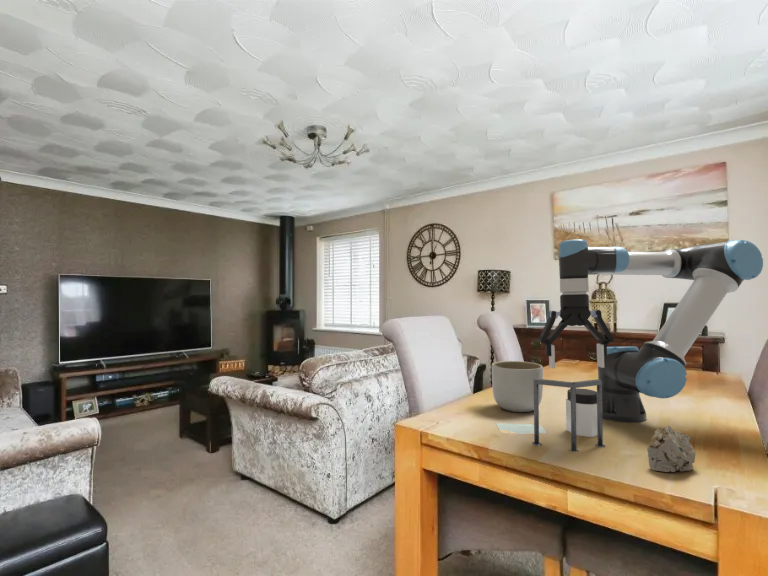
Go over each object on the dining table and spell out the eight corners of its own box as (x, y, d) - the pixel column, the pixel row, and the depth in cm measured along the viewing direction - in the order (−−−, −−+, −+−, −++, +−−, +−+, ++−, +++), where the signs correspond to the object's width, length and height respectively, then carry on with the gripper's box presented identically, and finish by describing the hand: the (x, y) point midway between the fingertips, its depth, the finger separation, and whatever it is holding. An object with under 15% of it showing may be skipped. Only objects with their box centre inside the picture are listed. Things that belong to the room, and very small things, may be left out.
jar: (588, 440, 110) (587, 396, 110) (561, 432, 116) (560, 390, 117) (605, 434, 115) (605, 392, 115) (578, 426, 121) (578, 386, 122)
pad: (539, 425, 123) (539, 424, 123) (553, 441, 110) (553, 439, 110) (495, 424, 124) (495, 423, 124) (504, 439, 111) (504, 438, 111)
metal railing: (603, 446, 106) (602, 378, 106) (614, 455, 99) (613, 384, 100) (530, 444, 107) (529, 377, 108) (537, 453, 101) (536, 383, 101)
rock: (675, 471, 84) (671, 422, 88) (644, 468, 89) (642, 422, 94) (711, 482, 88) (705, 435, 92) (679, 479, 93) (675, 434, 98)
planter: (547, 406, 143) (547, 363, 143) (537, 418, 129) (536, 371, 129) (500, 399, 152) (499, 359, 153) (485, 411, 138) (485, 366, 138)
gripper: (612, 292, 119) (614, 364, 119) (526, 294, 121) (528, 365, 121) (625, 292, 112) (628, 369, 112) (533, 294, 114) (536, 370, 114)
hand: (576, 367), depth 116 cm, fingers open, 13 cm apart
